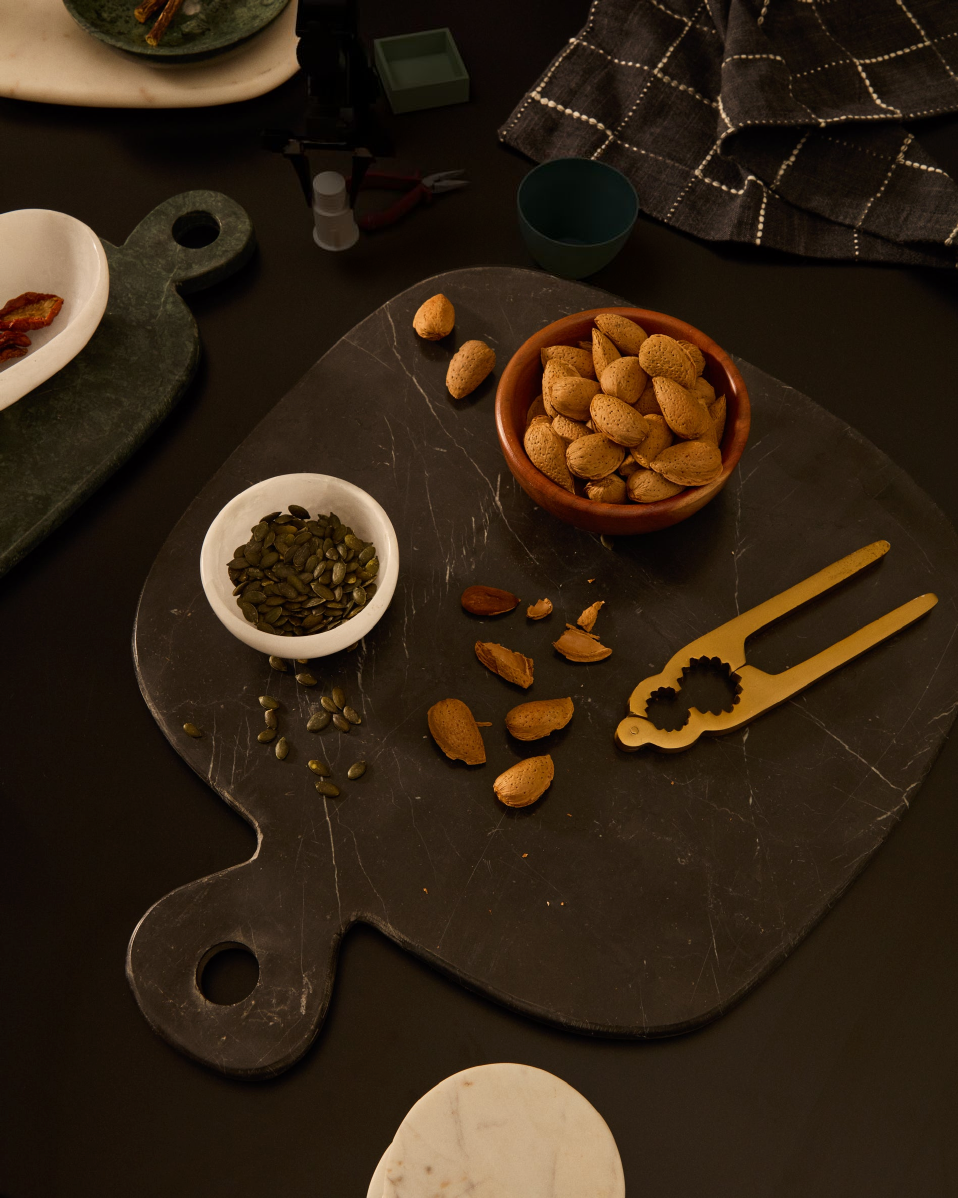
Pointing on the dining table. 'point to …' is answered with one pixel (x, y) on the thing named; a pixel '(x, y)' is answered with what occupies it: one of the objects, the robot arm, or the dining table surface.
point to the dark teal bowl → (575, 215)
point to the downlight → (333, 213)
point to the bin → (421, 70)
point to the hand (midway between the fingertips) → (330, 208)
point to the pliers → (419, 192)
